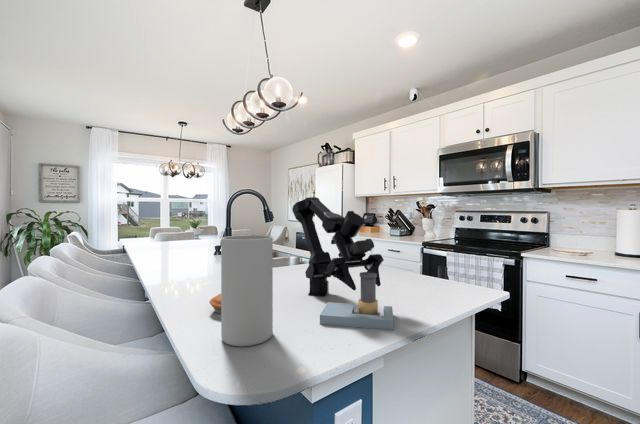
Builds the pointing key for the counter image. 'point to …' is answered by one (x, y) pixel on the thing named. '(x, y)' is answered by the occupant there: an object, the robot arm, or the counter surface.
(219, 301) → the pie
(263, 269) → the cylinder vase
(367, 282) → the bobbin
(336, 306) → the notched board
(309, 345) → the counter surface
